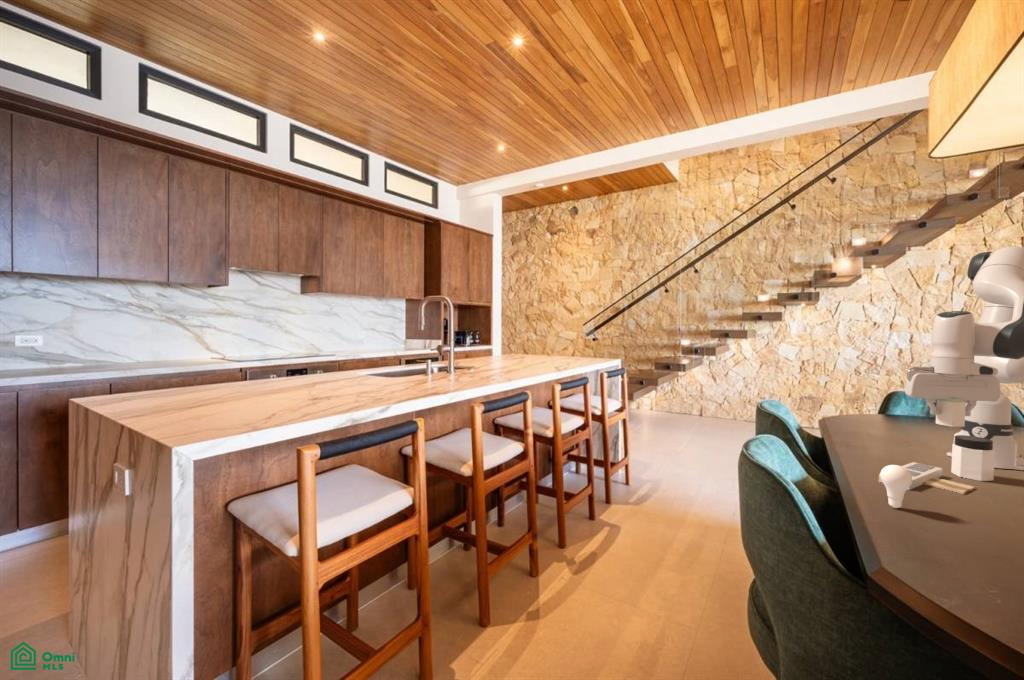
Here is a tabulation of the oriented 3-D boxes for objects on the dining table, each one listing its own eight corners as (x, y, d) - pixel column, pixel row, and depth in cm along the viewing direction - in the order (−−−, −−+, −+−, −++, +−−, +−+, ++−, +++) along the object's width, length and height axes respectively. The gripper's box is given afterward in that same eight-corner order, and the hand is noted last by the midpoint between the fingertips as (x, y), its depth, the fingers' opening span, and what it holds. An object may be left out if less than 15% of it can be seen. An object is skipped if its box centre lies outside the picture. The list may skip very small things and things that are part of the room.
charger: (947, 423, 127) (948, 396, 126) (964, 426, 123) (965, 398, 122) (935, 423, 126) (936, 396, 126) (952, 426, 122) (953, 398, 122)
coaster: (932, 478, 131) (932, 476, 131) (974, 488, 123) (974, 486, 123) (920, 483, 127) (920, 481, 127) (963, 494, 119) (963, 492, 119)
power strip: (919, 467, 142) (919, 458, 142) (948, 473, 136) (948, 465, 136) (878, 482, 128) (878, 472, 128) (909, 490, 122) (909, 480, 122)
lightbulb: (880, 501, 114) (881, 460, 113) (911, 508, 109) (913, 465, 109) (877, 507, 109) (879, 465, 109) (910, 515, 105) (912, 471, 105)
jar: (994, 477, 132) (996, 439, 132) (992, 483, 127) (994, 443, 127) (952, 470, 139) (954, 433, 139) (949, 475, 134) (951, 437, 134)
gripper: (913, 367, 124) (911, 414, 125) (1005, 369, 118) (1003, 419, 118) (901, 365, 130) (899, 410, 131) (988, 367, 124) (986, 415, 124)
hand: (949, 414), depth 124 cm, fingers closed on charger, 6 cm apart
